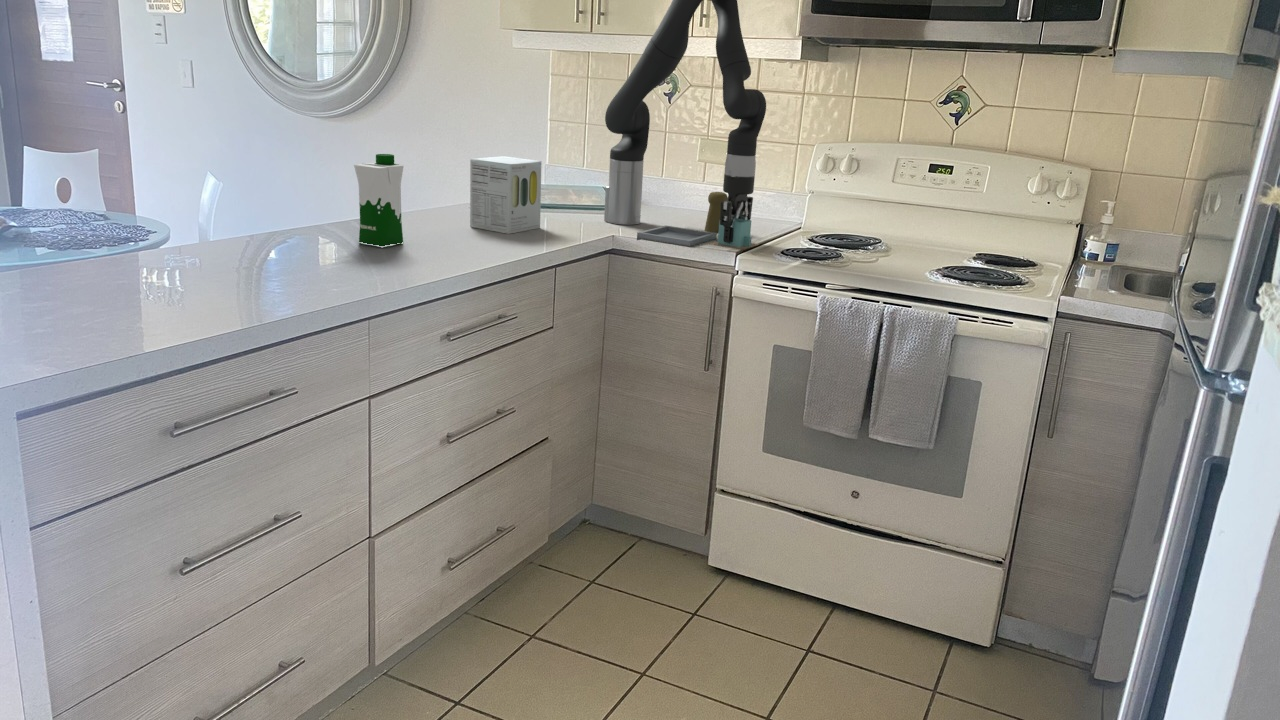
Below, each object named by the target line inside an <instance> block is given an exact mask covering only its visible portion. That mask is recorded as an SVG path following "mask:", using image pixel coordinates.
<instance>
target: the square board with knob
mask: <svg viewBox="0 0 1280 720" xmlns="http://www.w3.org/2000/svg"><path fill="white" fill-rule="evenodd" d="M707 245H710V246H717V247H722V248H730V249H736V250H740V251H742V250H743V251H745V250H747V249H750V248H753V247H756V246H759V245H760V243H753V242H751V246H750V247H746V246H742V247H733V246H727V245H721V244H718V240H716V241H715V240H714V241H711V242H709V243H707Z"/></svg>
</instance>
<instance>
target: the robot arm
mask: <svg viewBox="0 0 1280 720" xmlns="http://www.w3.org/2000/svg"><path fill="white" fill-rule="evenodd" d="M703 1H704V0H672V1H671V2H670V4H669V7H668V9H667V10H666V12H665V14H664V16H663V17H662V20H661V21H660V23H659V25H658V27H657V28H656V30H655V32H654V33H653V35H652V36H651V38H650V40H649V41H648V43H647V45H646V46H645V48H644V50H643V52H642V54H641V56H640V57H639V59H638V61H637V62H636V64H635V66H634V67H633V69H632V71H631V73H630V74H629V76H628V77H627V79H626V81H625V82H624V83H623V85H622V86H621V88H619V90H618V91H617V93H616V94H615V96H613V98H612V99H611V100H610V102H609V104H608V106H607V108H606V111H605V114H604V115H605V116H604V121H605V126H606V128H607V130H609V132H611V133H613V134H617V135H621V139H620V140H619V141H618V143H617V144H616V145H614V146H613V147H611V149H610V151H609V169H608V170H609V173H608V174H609V175H608V185H607V186H606V187H605V189H604V190H605V193H604V194H605V196H604V216H603V221H604V222H608V223H611V224H616V225H627V226H628V225H632V226H633V225H638V224H641V216H642V215H641V213H642V199H643V198H642V195H643V181H644V180H643V179H644V177H643V176H644V157H645V153H646V151H647V148H648V144H649V142H648V141H649V140H648V139H649V133H650V123H651V122H650V120H651V116H650V109H649V107H648V105H647V103H646V102H645V101H644V99H645V98H646V96H647V95H649V93H651V92H652V91H653V90H654V89H656V87H658V86H660V85H661V84H662V83H663V82H664V81H665V80H666V79H668V78H669V77H670V76H671V75H672V74H673V73H674V71H675V70H676V68H677V67H678V65H679V64H680V61H682V59H683V57H684V55H685V54H686V51H687V48H688V44H689V35H690V34H689V31H690V30H689V29H690V25H691V24H690V23H691V20H692V19H693V17H694V15H695V12H696V11H697V9H698V8H699V6H700V5H701V3H702V2H703ZM708 1H711V4H712V5H713V9H714V10H715V12H716V18H717V32H716V37H715V39H716V40H715V52H716V59H717V61H718V66H719V69H720V72H721V76H722V102H723V107H724V110H725V112H726V114H727V115H728V116H729V117H730V118H731V119H734V120H740V121H739V125H738V127H736V128H735V129H732V130H731V131H730V132H729V134H728V138H727V149H726V158H725V162H724V174H723V185H722V186H723V187H722V191H723V193H725V194H727V197H728V199H727V201H722V202H721V212H720V225H723V227H724V239H723V241H724V242H727V243H731V242H732V241H733V230H734V228H733V227H734V224H735V221H736V220H737V219H744V220H751V218H752V211H753V210H752V209H753V202H754V198H753V196H749V195H752V194H753V193H754V189H755V178H756V177H755V176H756V167H757V166H756V164H757V161H756V158H757V157H756V154H757V146H758V145H757V143H758V137H759V134H760V132H761V128H762V126H763V123H764V120H765V116H766V112H767V101H766V96H765V95H764V93H763V92H762V91H760V90H759V89H755V88H753V89H752V88H751V89H749V88H745V81H746V80H748V79H749V78H750V76H751V74H752V69H751V64H750V61H749V56H748V53H747V49H746V46H745V42H744V38H743V35H742V28H741V21H740V13H739V5H738V0H708ZM724 217H725V219H724ZM731 219H732V221H731Z"/></svg>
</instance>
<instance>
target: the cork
mask: <svg viewBox="0 0 1280 720" xmlns="http://www.w3.org/2000/svg"><path fill="white" fill-rule="evenodd" d="M727 199H728V193H726V192H724V191H723V192H722V191H711V192H709V194H708V198H707V201H708V203H709V207H708V212H707V217H706V221H705V225H704V231H705V232H712V233H717V234H718V232H719V220H720V212H721V202H722V201H727ZM724 219H725V217H724Z"/></svg>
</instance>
